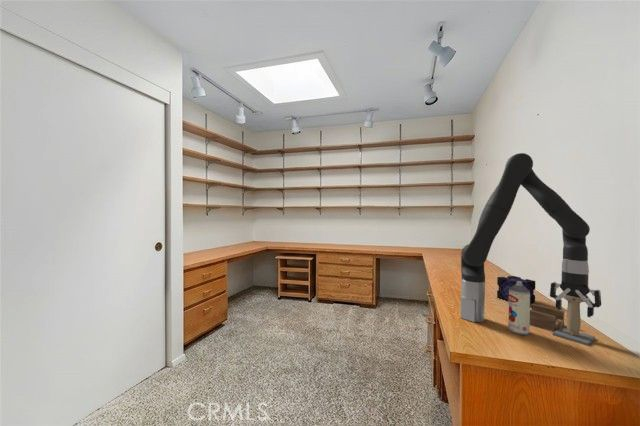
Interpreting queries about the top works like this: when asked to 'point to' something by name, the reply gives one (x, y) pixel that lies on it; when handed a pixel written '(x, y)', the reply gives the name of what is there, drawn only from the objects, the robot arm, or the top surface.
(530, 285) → the energy cube
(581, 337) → the mat
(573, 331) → the handle
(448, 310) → the top surface
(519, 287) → the aerosol can
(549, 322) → the frame
